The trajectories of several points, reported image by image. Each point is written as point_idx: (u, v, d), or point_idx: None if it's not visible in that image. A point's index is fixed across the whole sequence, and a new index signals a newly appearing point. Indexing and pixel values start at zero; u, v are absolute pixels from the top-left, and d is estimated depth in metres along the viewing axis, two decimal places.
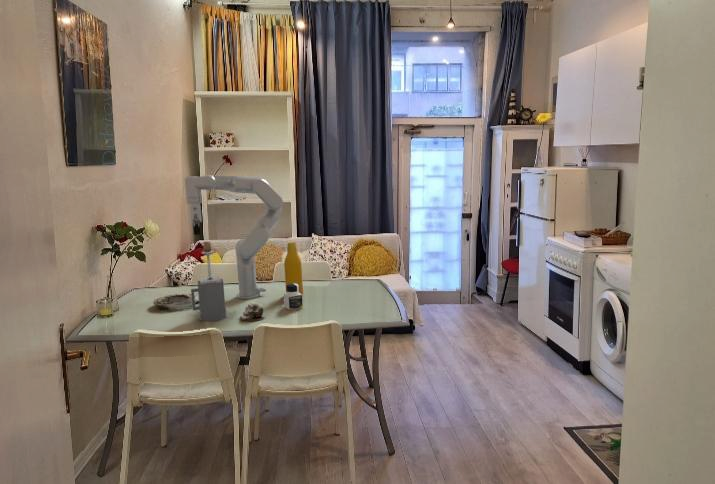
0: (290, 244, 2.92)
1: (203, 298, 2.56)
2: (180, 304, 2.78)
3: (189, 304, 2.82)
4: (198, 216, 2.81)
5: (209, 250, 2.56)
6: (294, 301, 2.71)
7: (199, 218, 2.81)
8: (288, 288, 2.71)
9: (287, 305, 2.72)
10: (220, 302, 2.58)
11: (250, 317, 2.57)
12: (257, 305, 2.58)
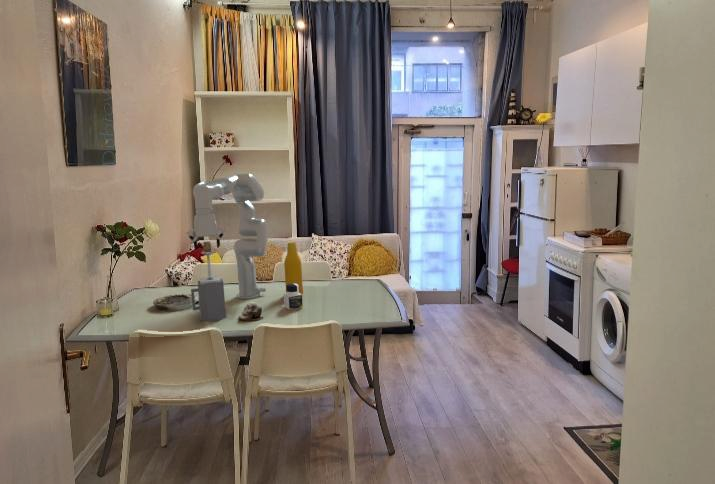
0: (290, 244, 2.92)
1: (203, 298, 2.56)
2: (180, 304, 2.78)
3: (189, 304, 2.82)
4: None
5: (209, 250, 2.56)
6: (294, 301, 2.71)
7: None
8: (288, 288, 2.71)
9: (287, 305, 2.72)
10: (220, 302, 2.58)
11: (249, 317, 2.57)
12: (256, 305, 2.59)
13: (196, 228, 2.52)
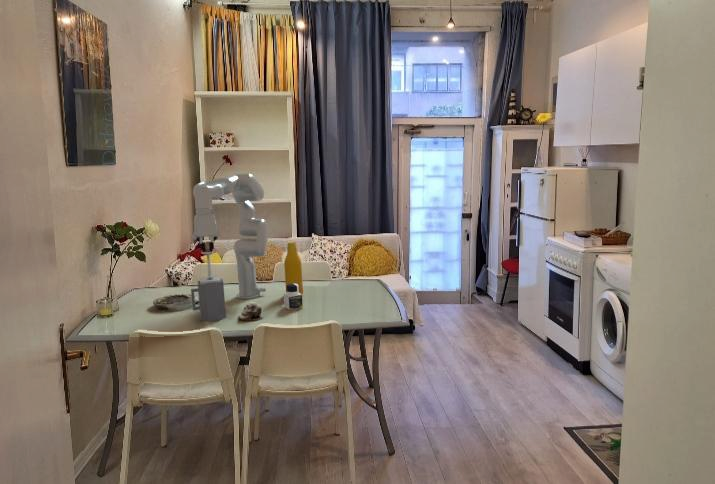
0: (290, 244, 2.92)
1: (203, 298, 2.56)
2: (180, 304, 2.78)
3: (189, 304, 2.81)
4: None
5: (209, 250, 2.56)
6: (294, 301, 2.71)
7: None
8: (288, 288, 2.71)
9: (287, 305, 2.72)
10: (220, 302, 2.58)
11: (249, 317, 2.57)
12: (255, 305, 2.59)
13: (196, 228, 2.52)
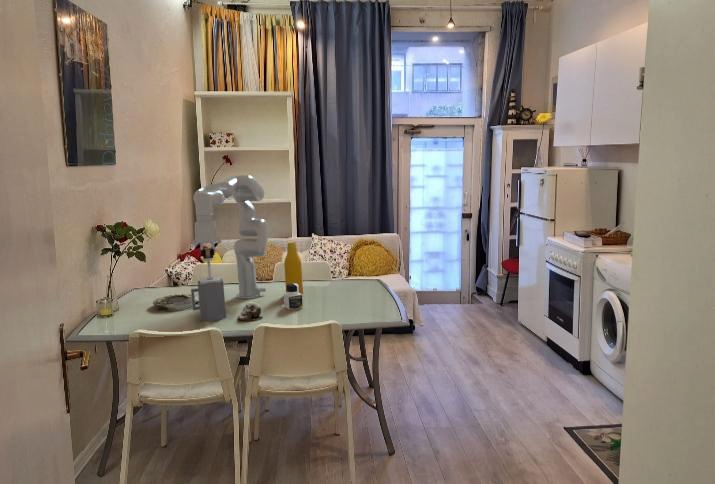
0: (290, 244, 2.92)
1: (203, 298, 2.56)
2: (180, 304, 2.77)
3: (189, 304, 2.81)
4: None
5: (210, 256, 2.57)
6: (294, 301, 2.71)
7: None
8: (288, 288, 2.71)
9: (287, 305, 2.72)
10: (220, 302, 2.58)
11: (248, 317, 2.57)
12: (255, 305, 2.59)
13: (197, 235, 2.53)
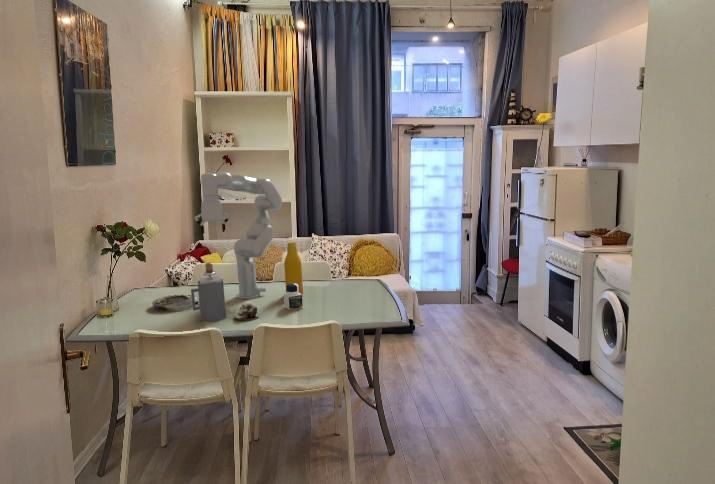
0: (290, 244, 2.92)
1: (203, 298, 2.56)
2: (179, 305, 2.77)
3: (188, 305, 2.81)
4: None
5: (211, 271, 2.58)
6: (294, 301, 2.71)
7: None
8: (288, 288, 2.71)
9: (287, 305, 2.72)
10: (220, 302, 2.58)
11: (245, 317, 2.58)
12: (251, 305, 2.60)
13: (203, 213, 2.71)
